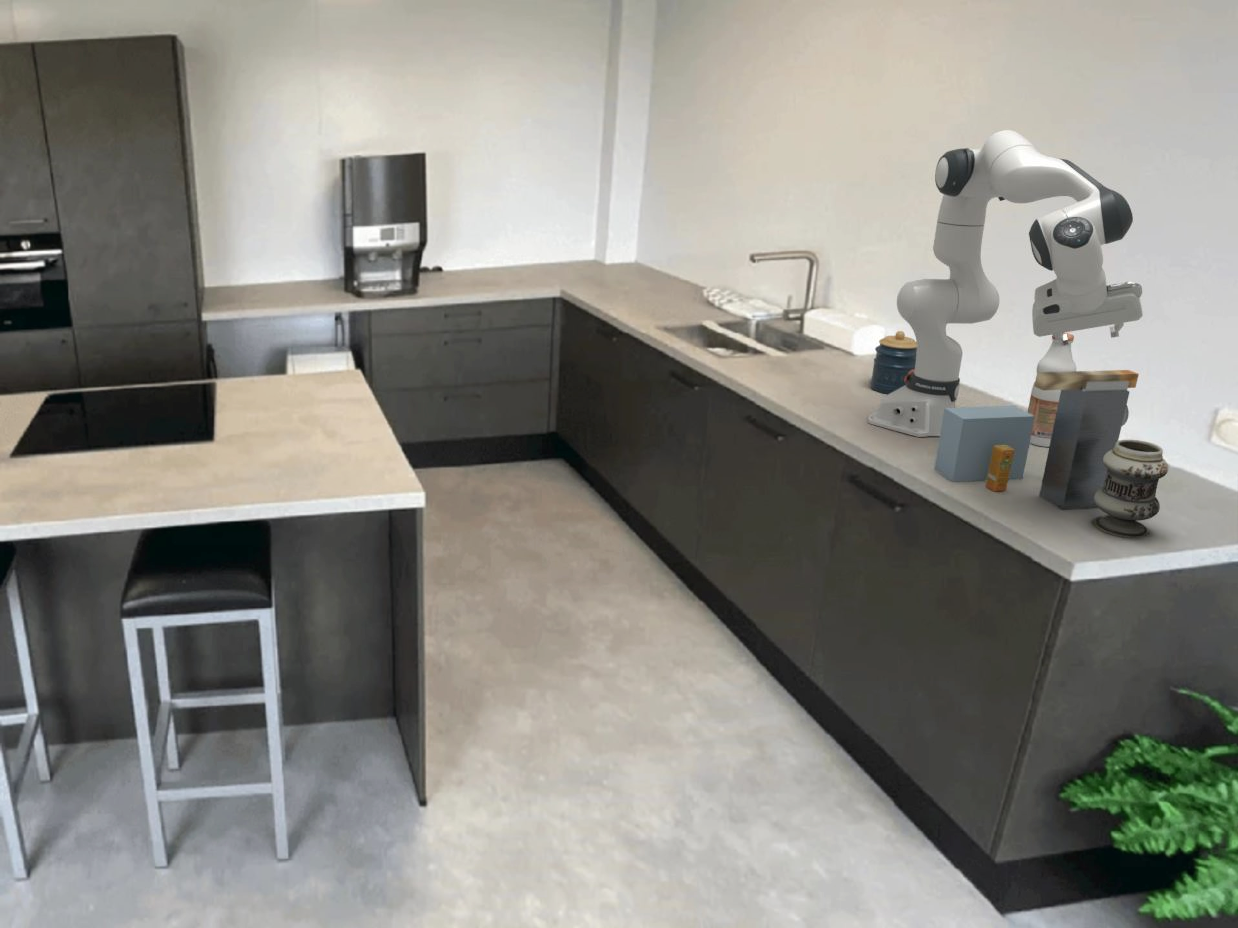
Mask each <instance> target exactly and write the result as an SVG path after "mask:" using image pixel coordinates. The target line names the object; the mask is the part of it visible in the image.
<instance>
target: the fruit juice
mask: <svg viewBox="0 0 1238 928" xmlns="http://www.w3.org/2000/svg"><path fill="white" fill-rule="evenodd" d="M1062 334H1067V336H1068V343H1069V345H1064V346H1061V343H1060V341H1059V340H1057V339H1056V338H1055V337H1053V335H1051V341H1052V342H1051V345H1050V346H1049V348H1048V350H1047V351H1046V353H1045V354H1044V356H1043V357H1042V358H1041V359H1040V360H1039V361H1038V362H1037V365H1036V373H1037V372H1071V371H1077V365H1076V363H1075V361H1074V359H1073V354H1072V353H1073V352H1072V344H1073V343H1074V339H1075V336H1074V335H1073V334H1071V333H1069V332H1065V333H1062ZM1034 385H1035V381H1034V382H1033V385H1032V388H1031V392H1030V396H1029V397H1030V398H1029V401H1028V407H1027V412H1028V413H1030V414H1032V415H1033V416H1035V419H1034V424H1033V429H1032V434H1031V439H1030V444H1032V445H1033V446H1038V447H1045V448H1049V446H1050V441H1051V436H1052V432H1053V427H1054V422H1055V417H1056V412H1057V408H1058V403H1059V398H1060V393H1061V390H1045V391H1043V390H1041V389H1039V388H1037V387H1035V386H1034Z"/></svg>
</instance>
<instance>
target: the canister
mask: <svg viewBox="0 0 1238 928" xmlns="http://www.w3.org/2000/svg"><path fill="white" fill-rule="evenodd" d="M915 340H916V339H914V338H912V337H909V336H906V335H905V332H904V331H903V330H897V331H896V333H895V335H885V337H883V338H881V339H879V342H878V343H879V345H878V346H876V347H875V348H874V350H875V352H876V354H875V357H874V358H873V367H872V375H871V379H870V388H871V389H872V390H873V391H876V392H879V393H882V394H885V395H888V394H890V393H891V392H893V391H895V390H897V389H899V388H901V387H903V386H905V382H904V379H905V377H906V375H907V374H908V372H909V371H911V370H913V369H914V370H915V363H916V353H917V342H916V341H915Z"/></svg>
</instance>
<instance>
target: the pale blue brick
mask: <svg viewBox="0 0 1238 928" xmlns="http://www.w3.org/2000/svg"><path fill="white" fill-rule="evenodd" d="M1034 419H1035V416H1033V415H1032V414H1030V413H1028V411H1025V410H1024V409H1022V408H1019V407H1018V406H1017V405H999V406H998V405H991V406H989V405H988V406H963V407H962V406H960V407H959V406H958V407H955V408H944V414H943V420H942V426H941V432H940V436H939V439H938V444H937V445H938V446H937V452H936V456H935V457H936V459H935V464H934V470H935V471H936V472H938V473H939V474H941V475H942V476H944V477H945V478H946V479H947V480H949V481H950V482H952V483H955V482H957V483H958V482H973V481H974V482H977V481H987V476H988V472H989V467H990V462H991V458H992V453H993V448H994V446H995V445H1008V446H1010V447H1011V448H1013V449H1014V450H1015V451H1014V456H1013V460H1012V464H1011V469H1010V473H1009V477H1008V480H1013V479H1017V480H1018V479H1023V478H1024V473H1025V468H1026V464H1027V463H1026V462H1027V458H1028V454H1029V449H1030V444H1031V443H1030V439H1031V434H1032V429H1033V424H1034Z"/></svg>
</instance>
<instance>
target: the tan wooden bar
mask: <svg viewBox="0 0 1238 928" xmlns="http://www.w3.org/2000/svg"><path fill="white" fill-rule="evenodd" d="M1138 379H1139V372H1135V371H1133V370H1130V369H1117V370H1116V369H1115V370H1114V369H1113V370H1076V371H1071V372H1037V371H1036V376H1035V379H1034V380H1035V381H1034V382H1035V385H1034V386H1035V387H1037V388H1039V389H1041V390H1043V391H1045V390H1078V389H1082V388H1083V383H1084V381H1105V380H1127V381H1129V385H1128V389H1131V388H1132V389H1134V388H1136V387H1137V382H1138Z"/></svg>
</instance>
